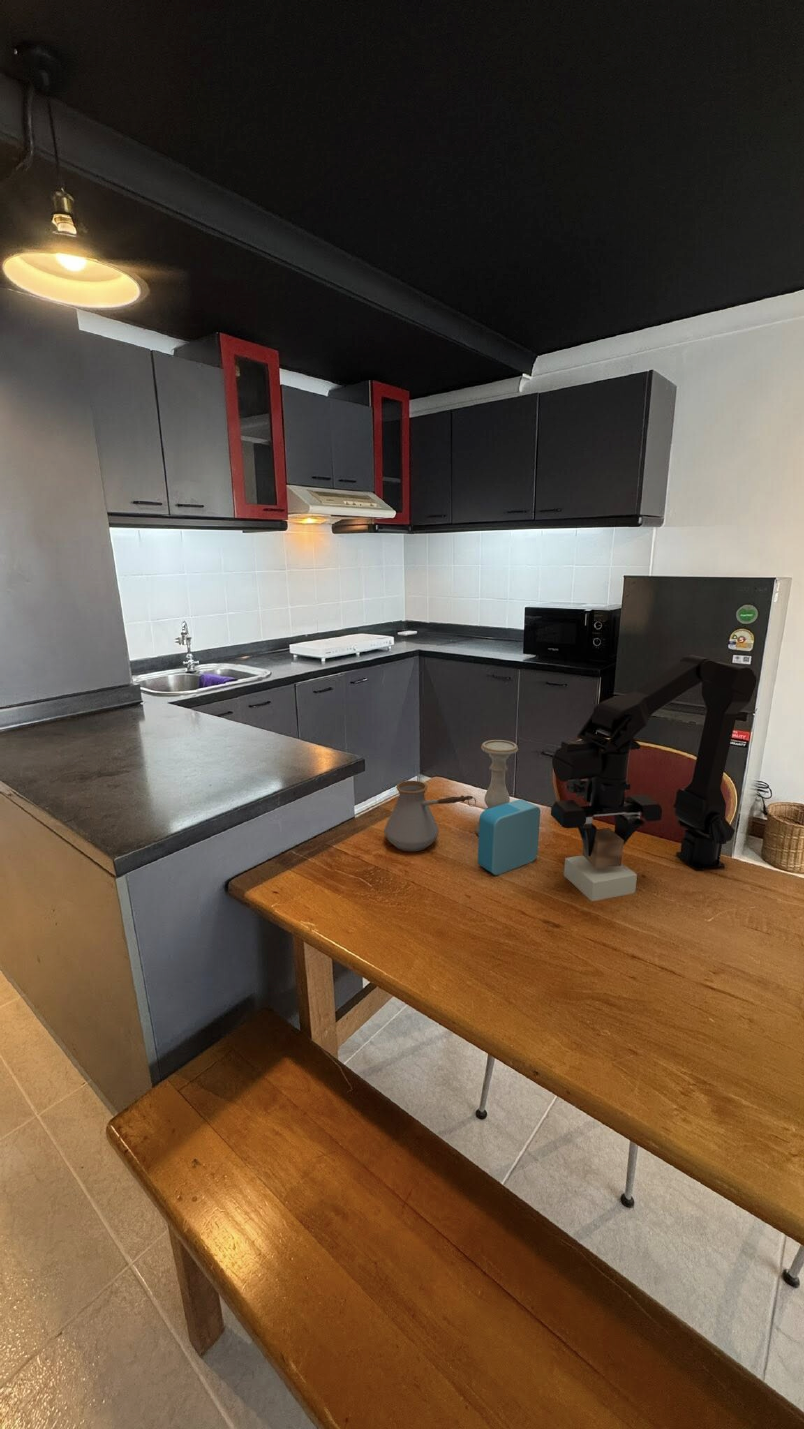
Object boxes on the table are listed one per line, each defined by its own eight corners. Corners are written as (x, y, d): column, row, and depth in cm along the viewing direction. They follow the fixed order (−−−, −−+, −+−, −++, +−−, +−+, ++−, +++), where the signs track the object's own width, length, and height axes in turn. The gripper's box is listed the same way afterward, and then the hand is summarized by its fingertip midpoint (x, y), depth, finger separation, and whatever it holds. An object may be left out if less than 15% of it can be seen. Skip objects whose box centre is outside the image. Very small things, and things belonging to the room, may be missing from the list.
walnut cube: (606, 852, 110) (609, 827, 109) (621, 865, 105) (623, 840, 104) (582, 854, 109) (584, 830, 108) (595, 868, 104) (597, 842, 103)
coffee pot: (373, 843, 123) (372, 777, 120) (409, 825, 132) (409, 762, 128) (453, 880, 110) (455, 806, 106) (488, 857, 118) (491, 788, 114)
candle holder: (471, 825, 132) (474, 739, 127) (509, 823, 133) (513, 738, 127) (480, 843, 124) (484, 752, 118) (520, 841, 124) (526, 751, 119)
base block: (604, 869, 114) (606, 851, 113) (634, 894, 106) (637, 874, 105) (563, 877, 111) (565, 858, 110) (591, 903, 103) (593, 882, 102)
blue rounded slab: (521, 851, 120) (524, 797, 117) (537, 860, 117) (541, 804, 114) (476, 867, 114) (479, 810, 111) (492, 877, 110) (495, 819, 107)
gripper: (632, 755, 112) (624, 829, 116) (541, 761, 109) (535, 837, 113) (668, 776, 101) (658, 857, 106) (568, 783, 98) (561, 867, 102)
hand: (601, 853), depth 107 cm, fingers closed on walnut cube, 5 cm apart
